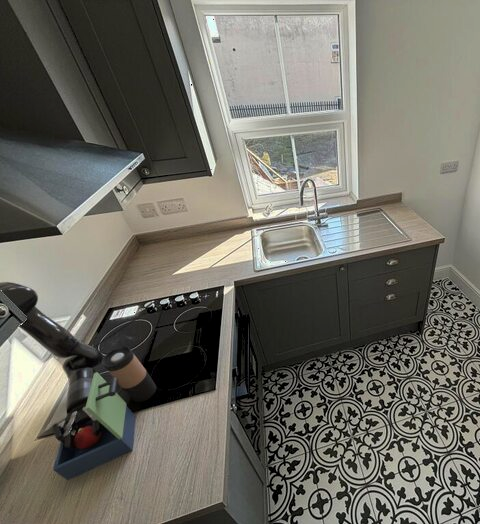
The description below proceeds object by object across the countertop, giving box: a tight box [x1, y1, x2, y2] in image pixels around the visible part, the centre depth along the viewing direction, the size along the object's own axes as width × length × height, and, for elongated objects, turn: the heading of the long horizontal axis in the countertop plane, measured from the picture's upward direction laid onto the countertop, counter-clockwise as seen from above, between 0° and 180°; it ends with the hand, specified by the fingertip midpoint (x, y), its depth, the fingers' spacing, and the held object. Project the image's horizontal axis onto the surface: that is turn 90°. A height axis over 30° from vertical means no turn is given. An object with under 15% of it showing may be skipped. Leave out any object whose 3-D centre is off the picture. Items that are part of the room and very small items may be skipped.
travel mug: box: [101, 346, 157, 403], centre depth 96 cm, size 8×8×20 cm
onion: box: [74, 426, 101, 449], centre depth 84 cm, size 6×6×8 cm
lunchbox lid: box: [85, 371, 127, 439], centre depth 82 cm, size 16×12×5 cm
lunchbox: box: [52, 405, 137, 481], centre depth 86 cm, size 16×12×7 cm
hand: (83, 440), depth 81 cm, fingers closed on onion, 5 cm apart
